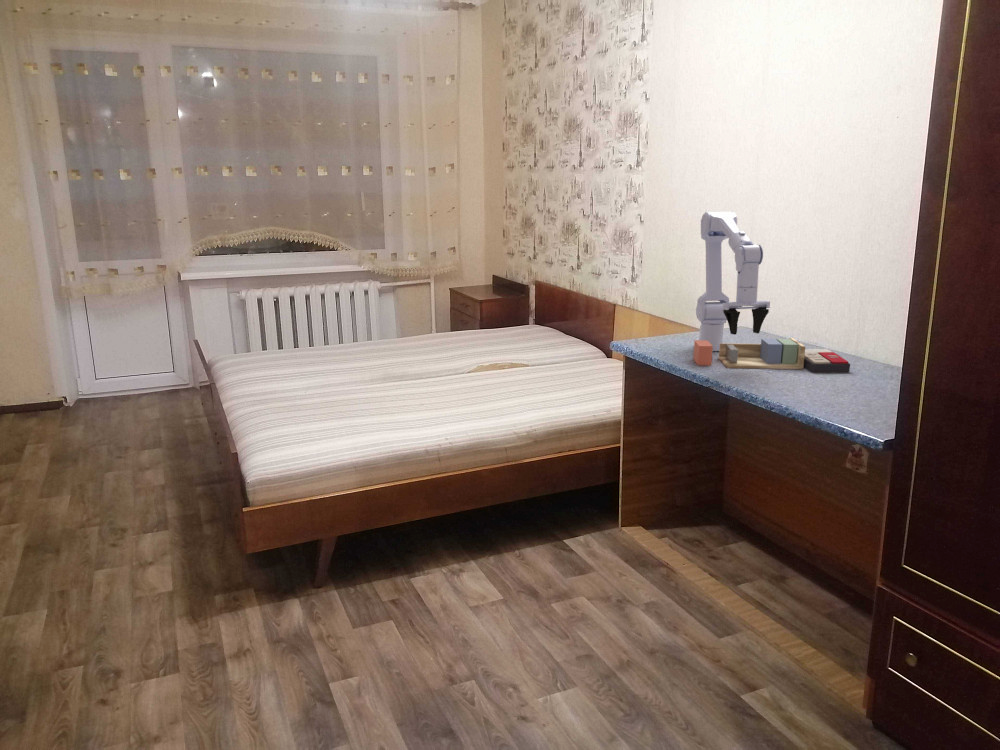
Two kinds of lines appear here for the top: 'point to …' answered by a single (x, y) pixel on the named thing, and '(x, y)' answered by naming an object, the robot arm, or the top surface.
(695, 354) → the orange rectangular block
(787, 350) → the book
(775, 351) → the book
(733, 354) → the bookend
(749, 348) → the shelf
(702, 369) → the top surface
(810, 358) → the calculator
